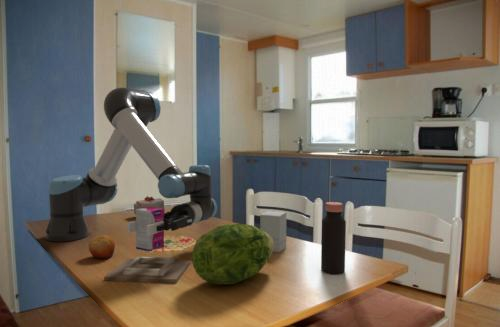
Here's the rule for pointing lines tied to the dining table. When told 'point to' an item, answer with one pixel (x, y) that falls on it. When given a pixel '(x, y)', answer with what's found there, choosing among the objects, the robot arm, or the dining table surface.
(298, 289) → the dining table surface
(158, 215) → the supplement box
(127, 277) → the socket board
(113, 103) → the robot arm
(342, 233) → the bottle
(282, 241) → the supplement box
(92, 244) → the fruit
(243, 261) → the lettuce
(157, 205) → the food item
